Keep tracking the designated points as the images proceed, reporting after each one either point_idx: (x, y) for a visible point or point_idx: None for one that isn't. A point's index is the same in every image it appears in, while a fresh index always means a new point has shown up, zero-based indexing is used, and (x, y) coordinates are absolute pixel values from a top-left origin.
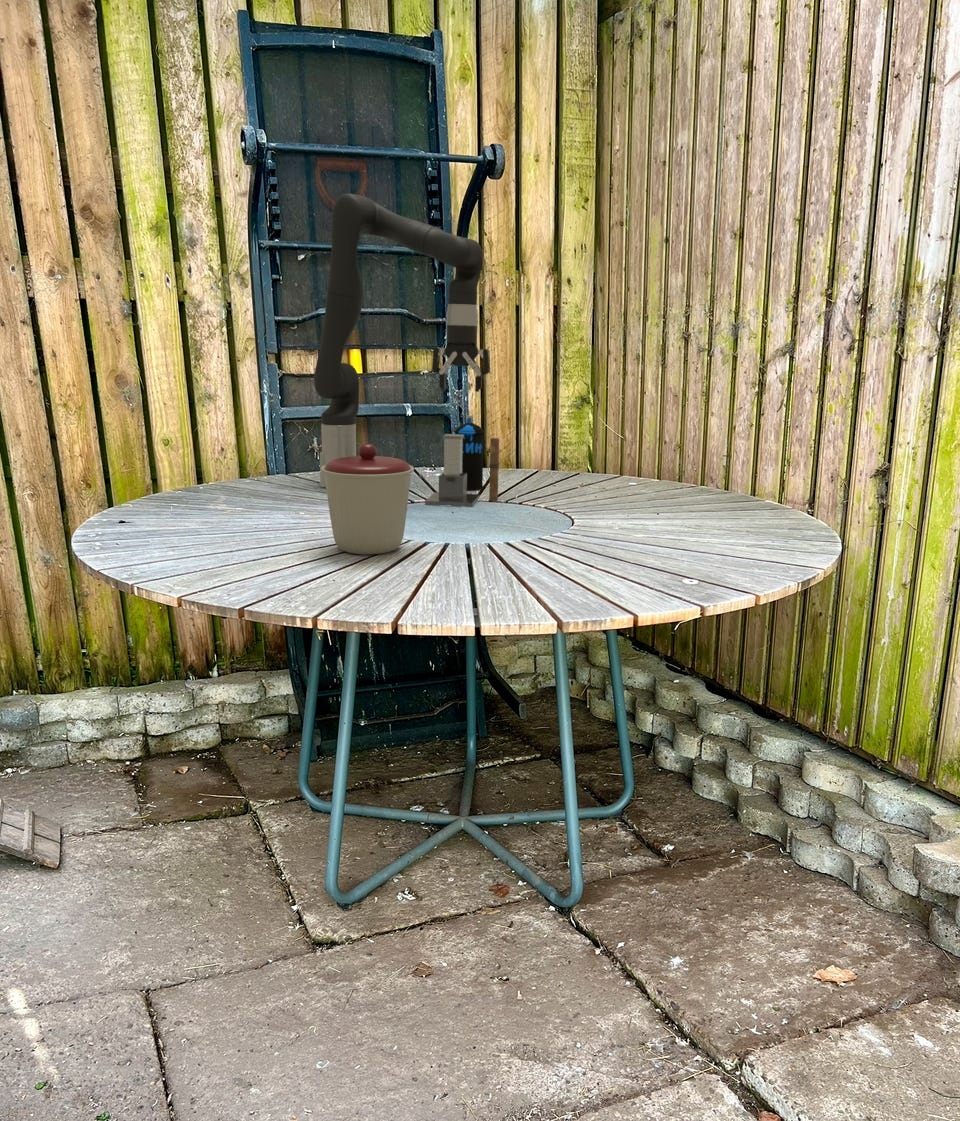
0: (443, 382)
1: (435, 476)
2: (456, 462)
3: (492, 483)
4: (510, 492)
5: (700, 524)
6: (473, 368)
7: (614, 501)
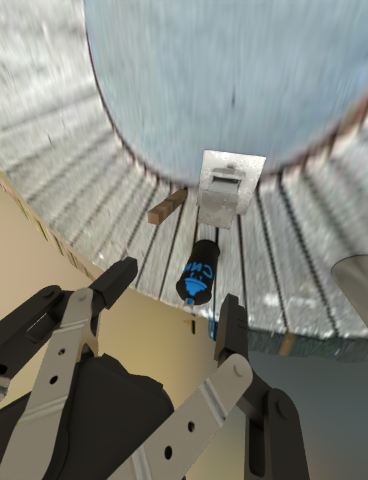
0: (230, 316)
1: None
2: (217, 183)
3: (178, 194)
4: (170, 231)
5: (5, 89)
6: (79, 323)
7: (92, 194)
